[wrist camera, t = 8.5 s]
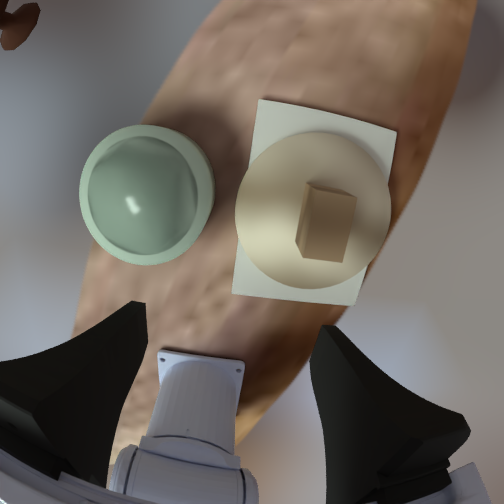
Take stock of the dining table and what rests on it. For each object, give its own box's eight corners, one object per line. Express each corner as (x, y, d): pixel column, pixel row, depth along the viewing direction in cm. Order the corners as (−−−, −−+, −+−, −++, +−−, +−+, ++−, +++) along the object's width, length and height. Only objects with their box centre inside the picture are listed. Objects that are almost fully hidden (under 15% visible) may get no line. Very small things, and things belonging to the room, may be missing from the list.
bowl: (208, 256, 21) (202, 274, 18) (99, 241, 21) (81, 255, 18) (223, 131, 18) (219, 129, 15) (103, 126, 17) (83, 125, 15)
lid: (365, 290, 22) (383, 315, 18) (227, 275, 21) (223, 302, 18) (398, 153, 18) (427, 156, 14) (247, 120, 17) (246, 113, 14)
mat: (352, 302, 23) (354, 306, 22) (231, 289, 22) (231, 293, 22) (393, 132, 18) (396, 132, 17) (258, 100, 17) (258, 99, 17)
